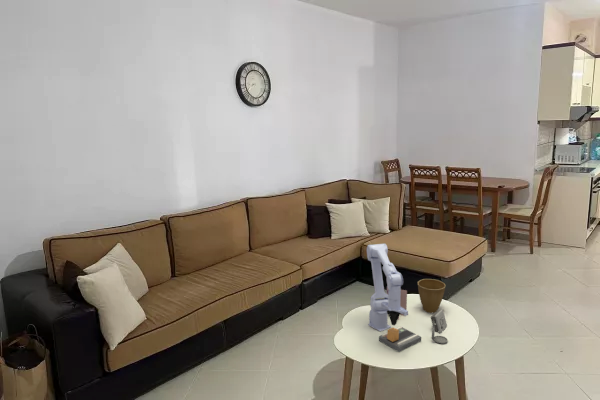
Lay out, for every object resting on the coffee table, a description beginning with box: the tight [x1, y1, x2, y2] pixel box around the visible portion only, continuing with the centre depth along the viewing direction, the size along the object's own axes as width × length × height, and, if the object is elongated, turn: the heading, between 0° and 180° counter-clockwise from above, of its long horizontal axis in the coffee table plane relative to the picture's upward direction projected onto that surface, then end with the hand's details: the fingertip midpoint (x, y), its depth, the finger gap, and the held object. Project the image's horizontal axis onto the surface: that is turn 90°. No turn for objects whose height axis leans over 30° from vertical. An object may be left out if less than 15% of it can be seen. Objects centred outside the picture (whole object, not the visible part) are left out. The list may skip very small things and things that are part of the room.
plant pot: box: [417, 278, 446, 314], centre depth 242 cm, size 15×15×16 cm
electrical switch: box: [430, 309, 448, 334], centre depth 223 cm, size 9×5×9 cm, turn 141°
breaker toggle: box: [386, 327, 399, 342], centre depth 208 cm, size 4×4×5 cm
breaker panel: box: [378, 326, 422, 353], centre depth 212 cm, size 13×16×3 cm
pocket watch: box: [431, 321, 449, 345], centre depth 211 cm, size 8×8×10 cm
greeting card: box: [386, 286, 408, 321], centre depth 238 cm, size 11×7×15 cm, turn 25°
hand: (393, 324), depth 208 cm, fingers closed
